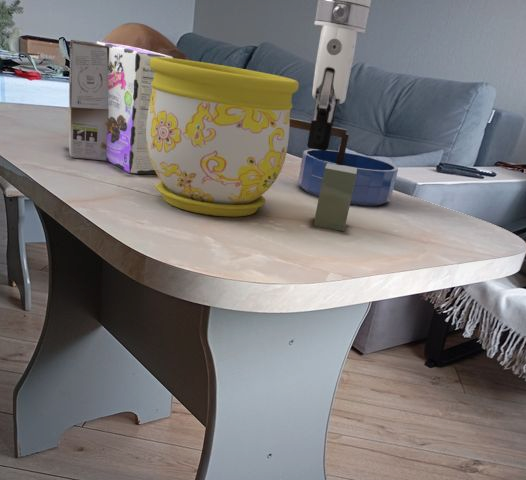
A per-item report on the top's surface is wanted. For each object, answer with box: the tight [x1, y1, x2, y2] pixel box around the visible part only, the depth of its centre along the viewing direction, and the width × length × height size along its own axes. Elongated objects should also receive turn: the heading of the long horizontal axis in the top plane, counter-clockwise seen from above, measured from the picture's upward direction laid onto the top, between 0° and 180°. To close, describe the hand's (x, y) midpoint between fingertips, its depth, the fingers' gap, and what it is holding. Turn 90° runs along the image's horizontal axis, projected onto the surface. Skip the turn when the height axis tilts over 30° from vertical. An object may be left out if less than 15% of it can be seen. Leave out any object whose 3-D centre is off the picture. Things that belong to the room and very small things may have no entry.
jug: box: [101, 22, 190, 60], centre depth 112 cm, size 20×20×30 cm
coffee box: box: [68, 39, 109, 162], centre depth 95 cm, size 9×6×16 cm
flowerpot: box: [146, 57, 300, 218], centre depth 78 cm, size 18×18×16 cm
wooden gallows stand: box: [289, 117, 350, 165], centre depth 98 cm, size 14×5×9 cm, turn 81°
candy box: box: [96, 41, 173, 175], centre depth 92 cm, size 14×6×16 cm, turn 36°
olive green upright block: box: [313, 163, 357, 232], centre depth 80 cm, size 4×4×7 cm
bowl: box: [297, 148, 399, 207], centre depth 100 cm, size 15×15×6 cm
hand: (317, 147), depth 98 cm, fingers closed on wooden gallows stand, 1 cm apart
